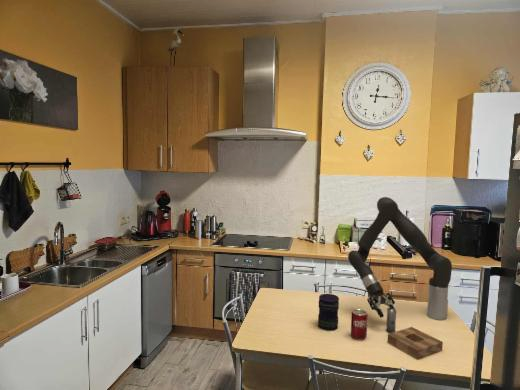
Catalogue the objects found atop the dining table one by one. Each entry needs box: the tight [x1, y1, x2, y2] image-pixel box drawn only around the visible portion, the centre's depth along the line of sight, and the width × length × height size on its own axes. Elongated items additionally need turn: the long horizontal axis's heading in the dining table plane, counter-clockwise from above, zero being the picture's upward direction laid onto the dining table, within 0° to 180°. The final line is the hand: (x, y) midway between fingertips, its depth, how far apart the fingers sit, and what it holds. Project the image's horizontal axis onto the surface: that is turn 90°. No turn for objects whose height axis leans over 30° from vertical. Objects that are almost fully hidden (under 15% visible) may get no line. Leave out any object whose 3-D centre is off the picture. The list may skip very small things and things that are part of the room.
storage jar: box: [317, 293, 340, 332], centre depth 178 cm, size 10×10×15 cm
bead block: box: [386, 326, 444, 361], centre depth 160 cm, size 16×16×4 cm
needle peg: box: [385, 307, 397, 334], centre depth 174 cm, size 4×4×11 cm
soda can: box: [350, 308, 369, 341], centre depth 168 cm, size 7×7×12 cm
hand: (388, 315), depth 175 cm, fingers open, 8 cm apart
